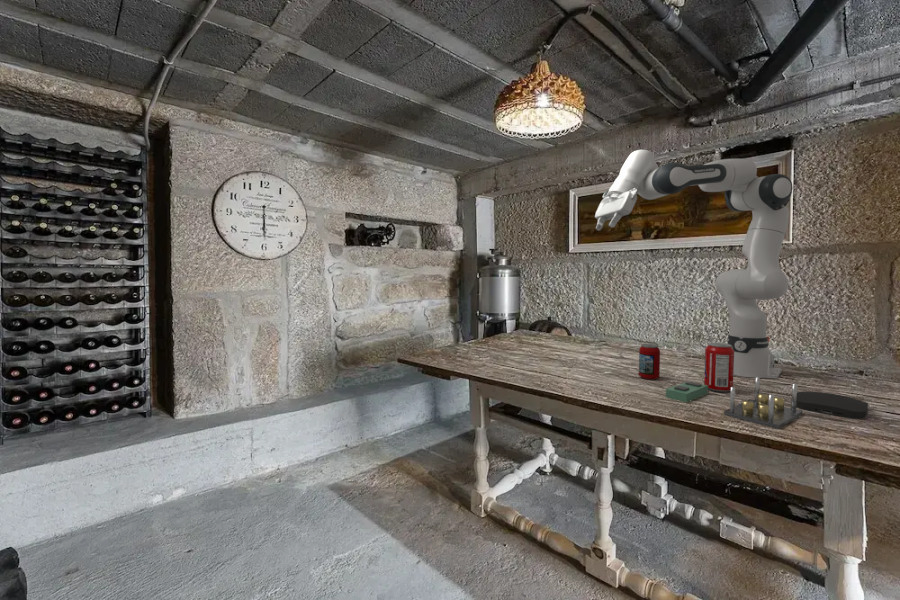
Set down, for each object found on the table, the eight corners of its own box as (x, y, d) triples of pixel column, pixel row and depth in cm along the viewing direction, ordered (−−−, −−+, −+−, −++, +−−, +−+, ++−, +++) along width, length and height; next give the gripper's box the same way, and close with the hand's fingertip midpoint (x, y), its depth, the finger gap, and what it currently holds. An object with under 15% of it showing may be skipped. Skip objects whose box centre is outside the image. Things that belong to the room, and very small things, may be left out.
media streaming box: (799, 397, 122) (800, 387, 122) (868, 409, 111) (869, 398, 111) (790, 408, 113) (791, 398, 112) (865, 422, 102) (866, 411, 101)
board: (687, 390, 131) (688, 379, 131) (707, 394, 126) (708, 383, 126) (665, 398, 123) (665, 387, 123) (686, 403, 118) (686, 391, 118)
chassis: (750, 402, 117) (751, 375, 117) (802, 414, 107) (804, 385, 107) (723, 414, 107) (724, 385, 107) (778, 429, 98) (779, 397, 97)
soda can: (718, 394, 125) (719, 347, 124) (698, 387, 133) (699, 342, 132) (739, 392, 127) (740, 345, 126) (718, 385, 134) (719, 341, 133)
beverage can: (634, 376, 147) (635, 344, 146) (649, 374, 149) (649, 343, 148) (648, 381, 141) (649, 347, 140) (663, 379, 143) (664, 346, 142)
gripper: (647, 191, 130) (627, 229, 130) (615, 202, 150) (598, 235, 150) (631, 182, 129) (611, 220, 129) (601, 194, 149) (584, 227, 150)
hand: (604, 228), depth 140 cm, fingers open, 8 cm apart
